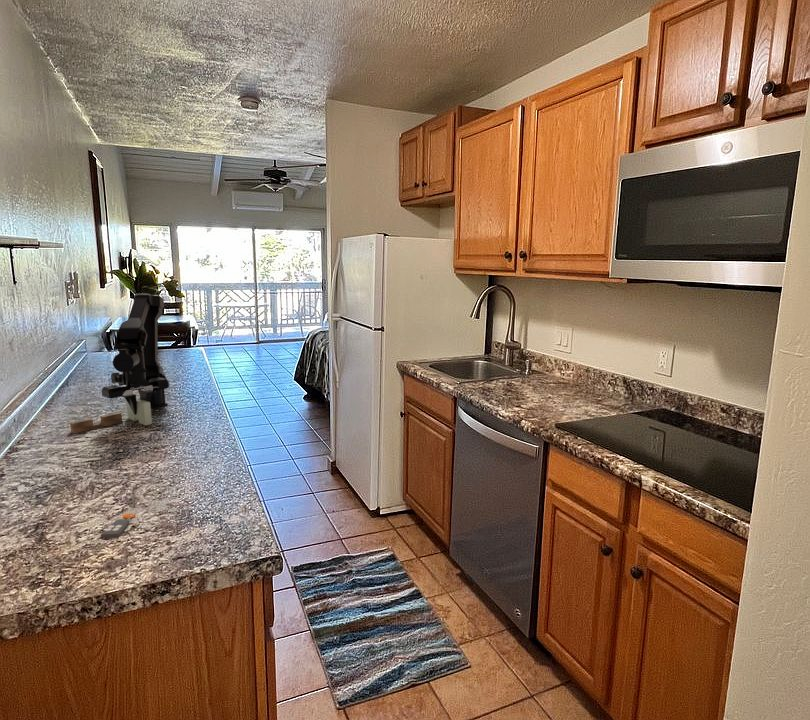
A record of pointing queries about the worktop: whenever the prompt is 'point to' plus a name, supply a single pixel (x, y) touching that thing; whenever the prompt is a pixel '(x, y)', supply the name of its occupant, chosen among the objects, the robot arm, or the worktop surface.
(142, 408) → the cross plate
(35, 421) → the worktop surface
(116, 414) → the walnut rail
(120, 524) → the key chain
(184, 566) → the worktop surface
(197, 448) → the worktop surface
